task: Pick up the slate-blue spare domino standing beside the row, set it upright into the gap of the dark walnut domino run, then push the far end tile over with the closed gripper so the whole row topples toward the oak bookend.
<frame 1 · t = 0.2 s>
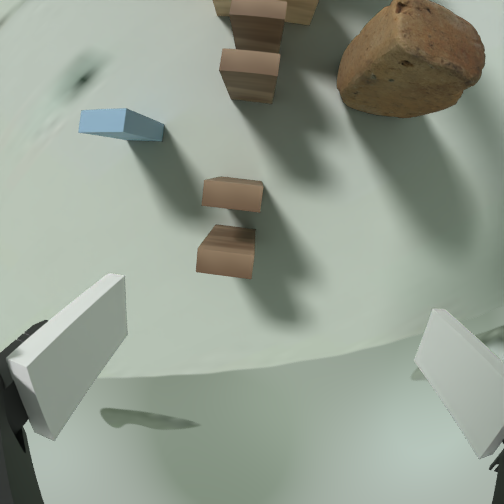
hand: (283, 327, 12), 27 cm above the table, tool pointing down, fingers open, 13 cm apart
domino 4: (252, 93, 34), on the table
end block: (265, 2, 31), on the table
spare domino: (144, 132, 36), on the table
domino 1: (234, 235, 39), on the table
block: (371, 90, 34), on the table
domino 2: (240, 187, 38), on the table
domino 5: (258, 50, 33), on the table
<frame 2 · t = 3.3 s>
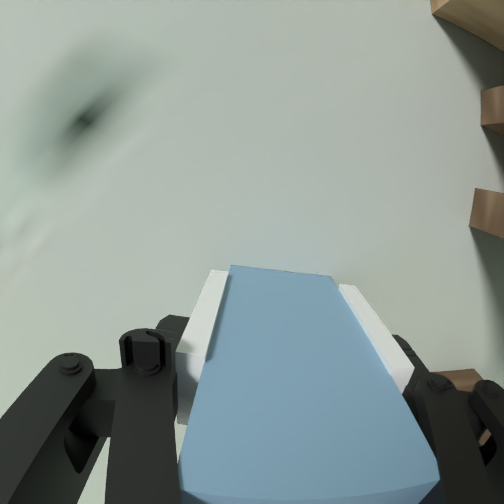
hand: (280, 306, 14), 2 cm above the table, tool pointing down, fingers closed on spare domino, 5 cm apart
domino 4: (499, 214, 14), on the table
end block: (498, 17, 10), on the table
spare domino: (278, 291, 16), on the table, touching gripper
domino 2: (444, 383, 17), on the table
when the fingers open (3 cm above the table, at t = 8.5 s): spare domino stays where it is, on the table.
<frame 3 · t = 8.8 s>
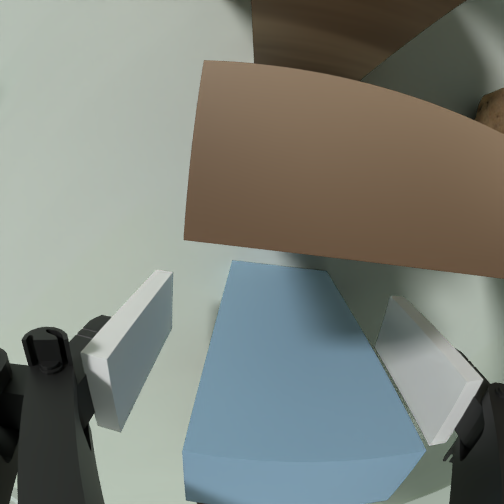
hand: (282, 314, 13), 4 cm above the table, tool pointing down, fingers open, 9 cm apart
domino 4: (293, 170, 15), on the table
spare domino: (277, 285, 17), on the table
domino 5: (305, 59, 13), on the table
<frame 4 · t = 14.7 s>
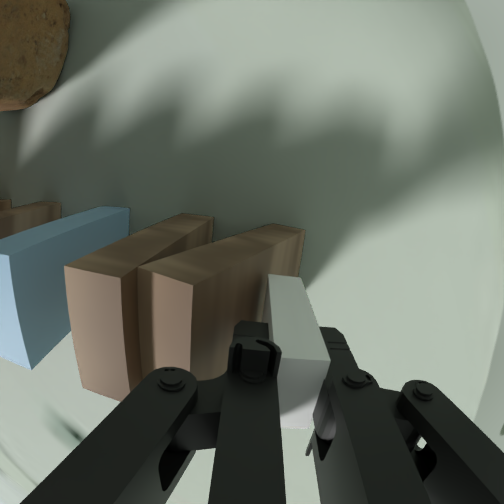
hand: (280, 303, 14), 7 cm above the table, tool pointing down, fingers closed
domino 4: (51, 233, 21), on the table
spare domino: (115, 241, 21), on the table
domino 1: (283, 264, 20), on the table, tilted 23°
block: (40, 54, 17), on the table
domino 2: (194, 252, 21), on the table, tilted 5°
domino 5: (4, 227, 21), on the table
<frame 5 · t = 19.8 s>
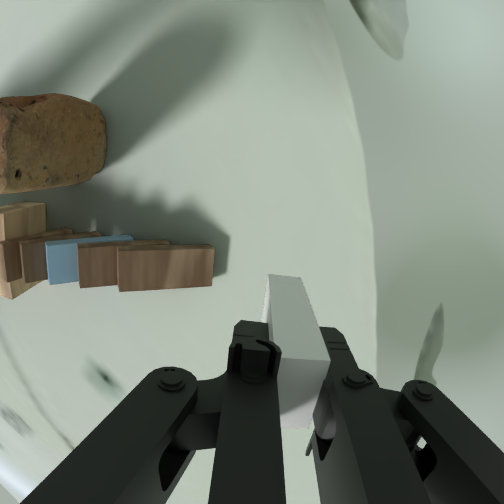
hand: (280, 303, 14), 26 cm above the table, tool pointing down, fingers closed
domino 4: (98, 249, 41), point 1 cm above the table, tilted 37°, touching domino 5, spare domino
end block: (33, 239, 41), on the table
spare domino: (130, 254, 41), point 1 cm above the table, tilted 47°, touching domino 2, domino 4
domino 1: (210, 265, 41), point 1 cm above the table, tilted 60°, touching domino 2
block: (88, 143, 38), on the table
domino 2: (166, 259, 41), point 1 cm above the table, tilted 54°, touching domino 1, spare domino
domino 5: (69, 245, 41), on the table, tilted 22°, touching domino 4, end block
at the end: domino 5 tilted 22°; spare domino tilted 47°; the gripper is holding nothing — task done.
